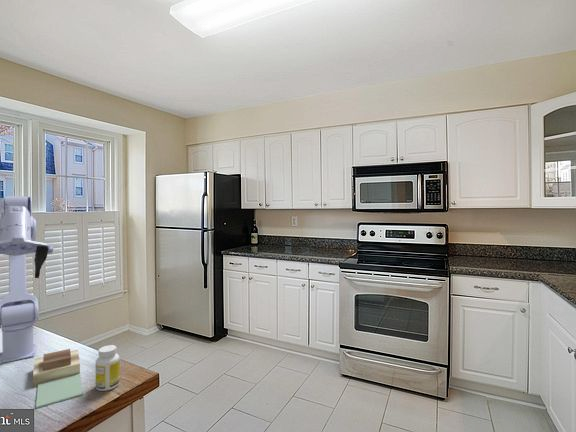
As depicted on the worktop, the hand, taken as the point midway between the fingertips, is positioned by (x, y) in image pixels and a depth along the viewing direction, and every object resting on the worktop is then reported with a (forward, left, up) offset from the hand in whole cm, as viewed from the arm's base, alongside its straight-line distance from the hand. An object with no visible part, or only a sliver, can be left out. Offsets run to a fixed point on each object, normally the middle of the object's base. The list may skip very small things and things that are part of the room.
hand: (16, 277), depth 74 cm
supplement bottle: (+6, +18, -30) cm, 35 cm away
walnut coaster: (-8, +8, -26) cm, 29 cm away
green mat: (+2, +8, -29) cm, 30 cm away
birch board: (-9, +8, -29) cm, 32 cm away
